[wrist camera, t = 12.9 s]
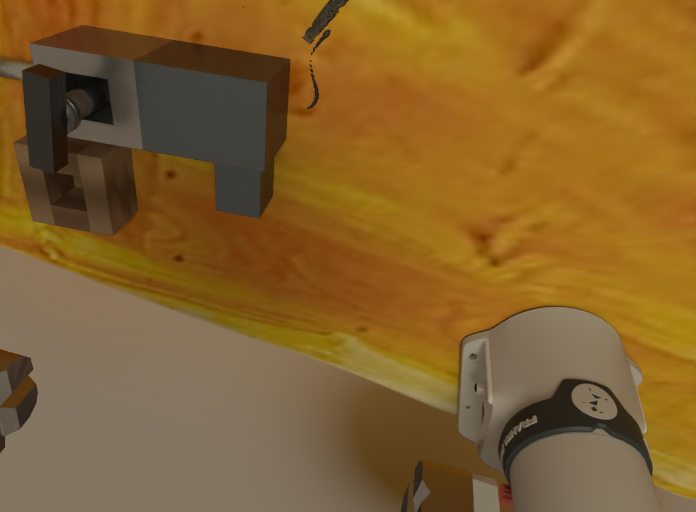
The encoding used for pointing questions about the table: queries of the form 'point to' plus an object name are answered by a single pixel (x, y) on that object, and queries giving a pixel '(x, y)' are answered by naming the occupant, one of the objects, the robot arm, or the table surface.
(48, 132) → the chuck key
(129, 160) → the brown square ring block
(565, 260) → the table surface
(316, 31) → the forked twig branch
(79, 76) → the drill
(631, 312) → the table surface
